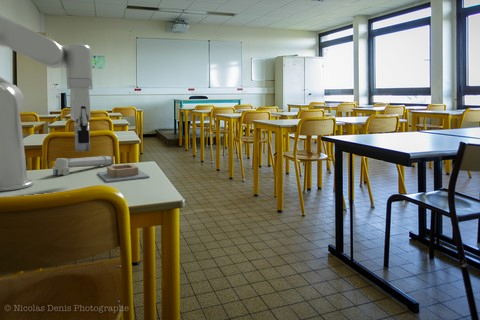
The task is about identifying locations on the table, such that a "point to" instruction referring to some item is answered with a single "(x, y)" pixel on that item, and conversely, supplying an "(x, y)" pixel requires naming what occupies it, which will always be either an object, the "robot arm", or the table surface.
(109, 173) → the socket block
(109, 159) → the white long slender part
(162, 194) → the table surface
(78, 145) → the grey and brass cylinder
